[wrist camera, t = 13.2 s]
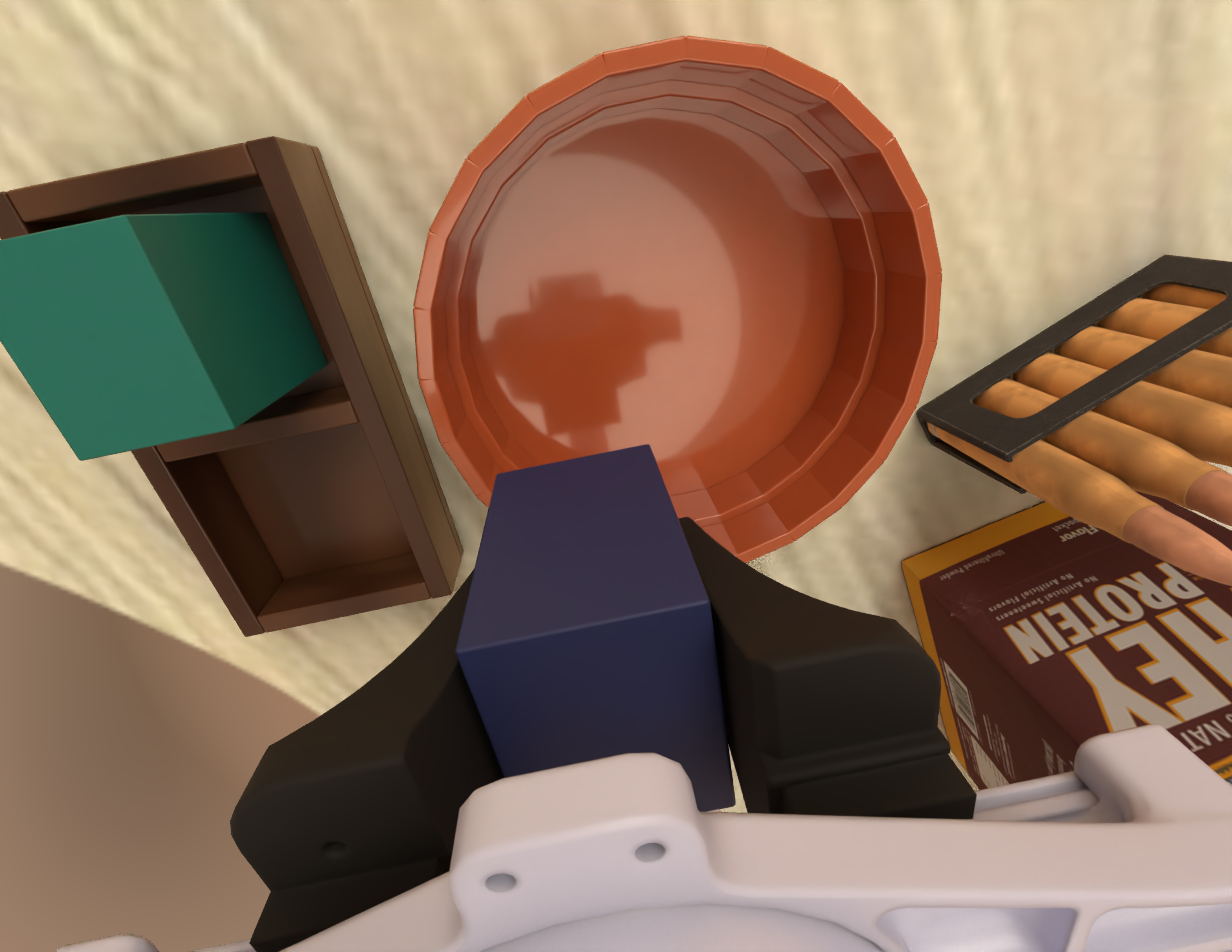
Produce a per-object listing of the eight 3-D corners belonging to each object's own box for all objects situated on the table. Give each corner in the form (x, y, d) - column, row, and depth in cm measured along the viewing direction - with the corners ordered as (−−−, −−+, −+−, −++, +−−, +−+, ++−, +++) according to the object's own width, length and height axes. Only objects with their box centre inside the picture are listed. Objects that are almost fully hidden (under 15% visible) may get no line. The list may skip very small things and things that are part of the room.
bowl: (858, 468, 25) (926, 527, 20) (510, 541, 25) (499, 615, 20) (861, 35, 18) (962, -22, 13) (382, 133, 18) (322, 108, 13)
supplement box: (1114, 466, 26) (1780, 776, 12) (1124, 686, 32) (1560, 1055, 18) (896, 556, 27) (1269, 940, 13) (948, 752, 33) (1233, 1148, 19)
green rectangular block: (218, 387, 20) (78, 462, 14) (141, 237, 18) (-60, 252, 12) (329, 364, 20) (235, 429, 14) (265, 211, 18) (124, 214, 12)
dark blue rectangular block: (540, 624, 17) (530, 849, 11) (495, 473, 15) (453, 652, 9) (674, 597, 17) (737, 807, 11) (649, 442, 15) (710, 600, 9)
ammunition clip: (929, 444, 24) (1224, 632, 14) (914, 411, 24) (1211, 582, 13) (1176, 294, 23) (1743, 373, 12) (1167, 253, 22) (1764, 298, 11)
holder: (280, 589, 25) (244, 638, 22) (65, 198, 18) (-27, 197, 15) (464, 550, 25) (452, 595, 22) (318, 146, 18) (274, 135, 15)
